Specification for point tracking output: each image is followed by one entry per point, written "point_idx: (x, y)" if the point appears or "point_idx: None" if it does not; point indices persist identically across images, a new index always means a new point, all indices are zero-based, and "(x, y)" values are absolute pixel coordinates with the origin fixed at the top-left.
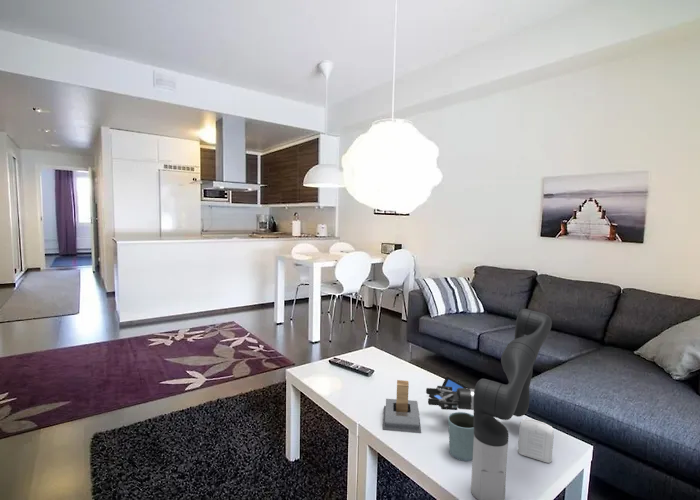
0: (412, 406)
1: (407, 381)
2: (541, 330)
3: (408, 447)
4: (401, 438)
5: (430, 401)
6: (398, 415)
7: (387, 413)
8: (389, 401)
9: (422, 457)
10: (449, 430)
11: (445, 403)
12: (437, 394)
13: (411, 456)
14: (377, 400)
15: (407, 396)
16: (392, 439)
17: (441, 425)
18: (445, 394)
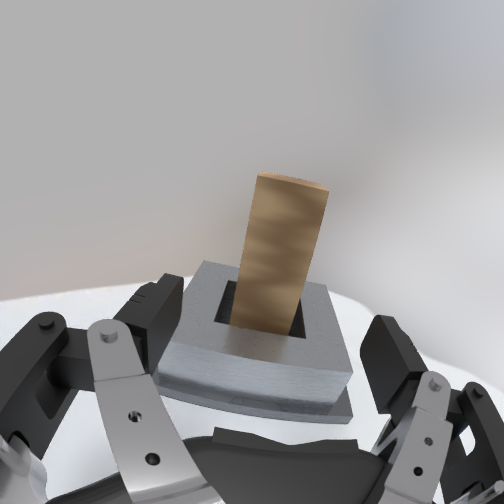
0: (281, 342)
1: (319, 188)
2: None
3: (71, 316)
4: None
5: (148, 288)
6: (192, 283)
7: (212, 266)
8: (307, 288)
9: (14, 323)
10: None
11: (16, 335)
12: (384, 426)
13: (35, 306)
14: (365, 316)
15: (245, 240)
16: (127, 299)
17: None
18: (296, 465)
